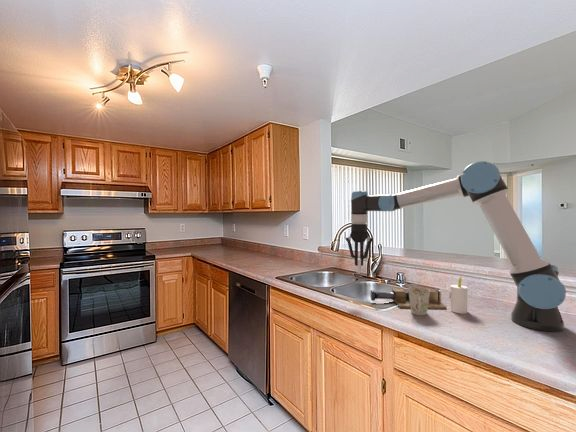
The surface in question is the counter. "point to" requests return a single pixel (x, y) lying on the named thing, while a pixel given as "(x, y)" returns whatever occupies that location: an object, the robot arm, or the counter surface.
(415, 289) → the mug
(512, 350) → the counter surface
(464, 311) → the candle
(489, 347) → the counter surface
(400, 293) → the brown board
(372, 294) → the pin
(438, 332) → the counter surface
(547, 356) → the counter surface
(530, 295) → the robot arm
